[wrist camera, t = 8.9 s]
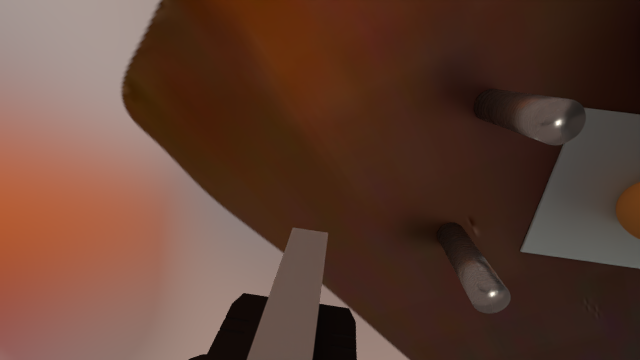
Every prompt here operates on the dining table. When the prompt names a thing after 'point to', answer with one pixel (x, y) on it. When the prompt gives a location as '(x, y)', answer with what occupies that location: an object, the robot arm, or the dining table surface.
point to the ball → (630, 210)
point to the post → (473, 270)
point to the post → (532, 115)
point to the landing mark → (590, 194)
